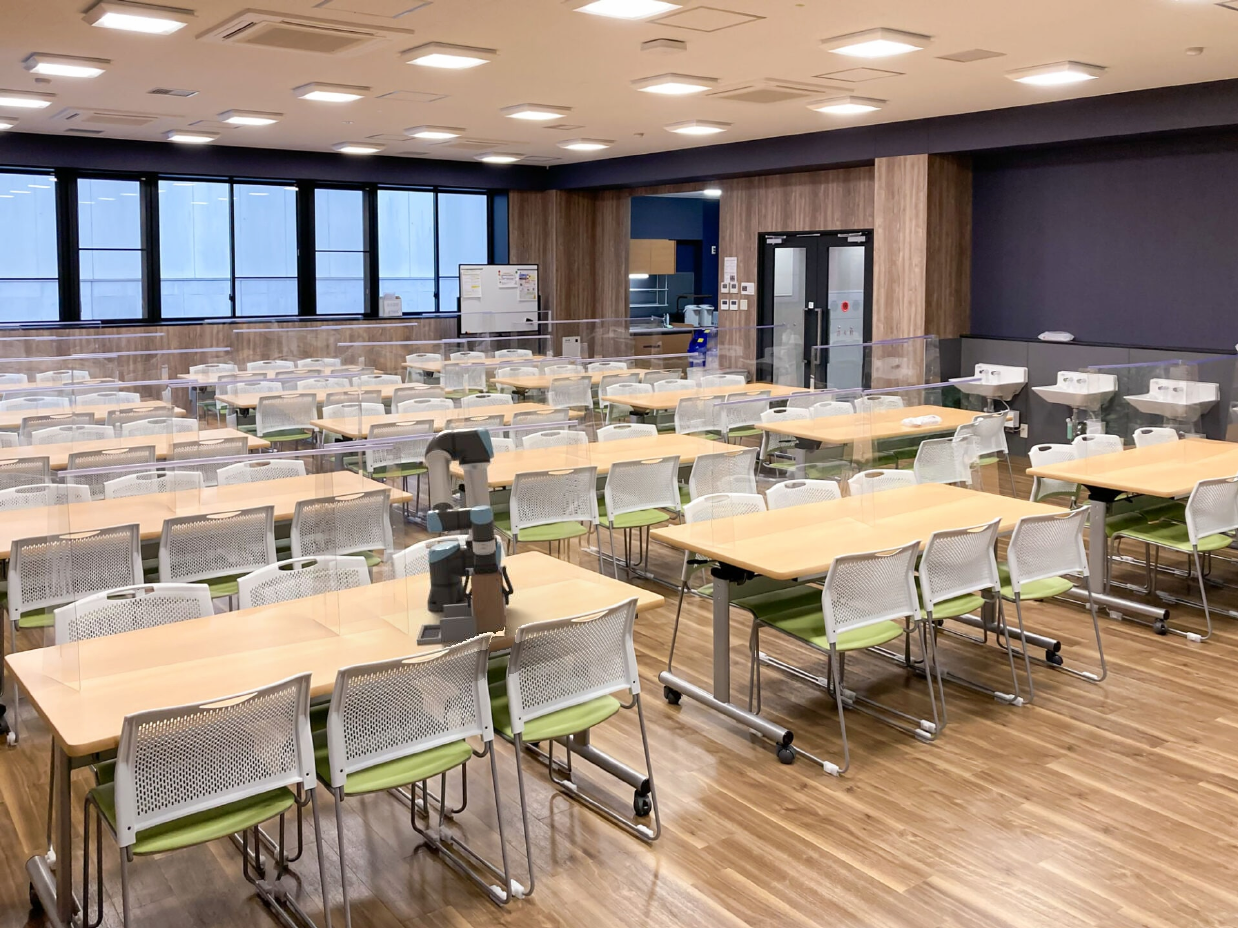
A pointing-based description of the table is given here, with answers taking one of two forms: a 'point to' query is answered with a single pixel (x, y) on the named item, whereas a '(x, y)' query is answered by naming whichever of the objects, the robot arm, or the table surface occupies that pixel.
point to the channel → (457, 623)
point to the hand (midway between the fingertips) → (489, 615)
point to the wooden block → (488, 601)
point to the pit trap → (429, 634)
